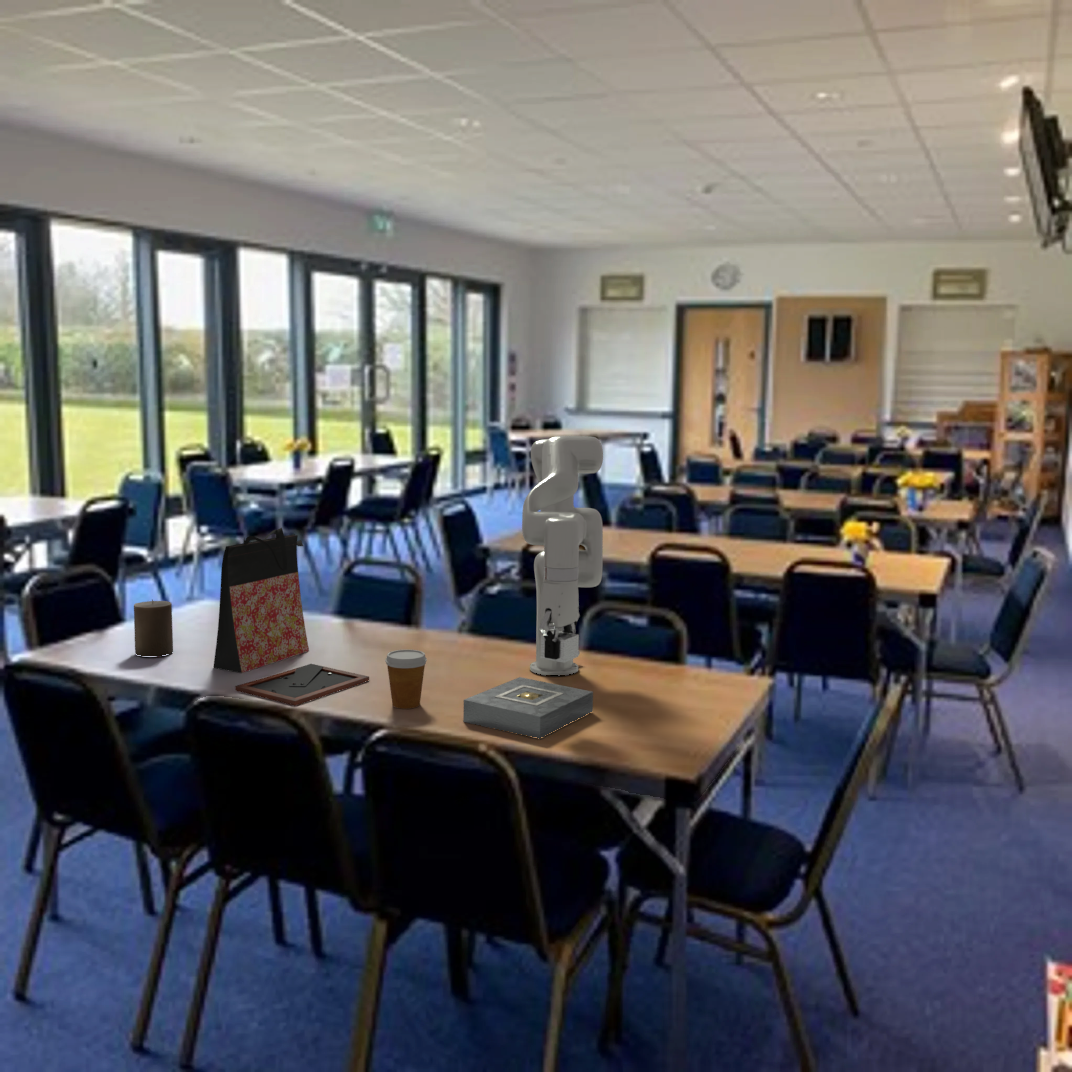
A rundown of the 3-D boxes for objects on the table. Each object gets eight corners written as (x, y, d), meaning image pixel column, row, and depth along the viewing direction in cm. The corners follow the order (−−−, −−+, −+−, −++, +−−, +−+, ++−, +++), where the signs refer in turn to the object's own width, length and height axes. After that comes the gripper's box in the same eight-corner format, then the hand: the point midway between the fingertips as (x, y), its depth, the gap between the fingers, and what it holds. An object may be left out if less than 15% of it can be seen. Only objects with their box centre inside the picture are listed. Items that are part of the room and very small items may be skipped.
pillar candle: (165, 658, 276) (164, 603, 274) (128, 657, 276) (127, 602, 274) (178, 649, 286) (177, 596, 284) (143, 648, 286) (141, 595, 284)
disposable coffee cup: (377, 704, 240) (376, 653, 238) (409, 696, 247) (409, 646, 245) (402, 714, 234) (402, 662, 232) (435, 705, 240) (435, 654, 238)
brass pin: (526, 711, 235) (526, 691, 235) (541, 715, 233) (541, 694, 232) (516, 716, 232) (516, 695, 231) (531, 719, 230) (531, 698, 229)
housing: (555, 652, 232) (555, 629, 232) (578, 656, 229) (578, 633, 228) (540, 658, 227) (541, 635, 227) (564, 662, 224) (564, 639, 223)
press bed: (519, 697, 247) (519, 676, 246) (592, 713, 236) (593, 690, 236) (463, 721, 229) (463, 698, 228) (539, 739, 218) (540, 715, 217)
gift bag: (250, 674, 263) (246, 537, 257) (208, 667, 269) (204, 532, 264) (325, 649, 288) (323, 524, 283) (285, 643, 295) (283, 520, 290)
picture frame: (311, 670, 270) (235, 693, 249) (311, 662, 270) (235, 685, 249) (369, 683, 259) (294, 708, 238) (369, 675, 259) (294, 699, 238)
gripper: (565, 566, 235) (564, 644, 237) (525, 578, 220) (523, 661, 223) (595, 570, 231) (593, 649, 234) (555, 582, 216) (554, 666, 219)
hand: (559, 654), depth 228 cm, fingers closed on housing, 6 cm apart
